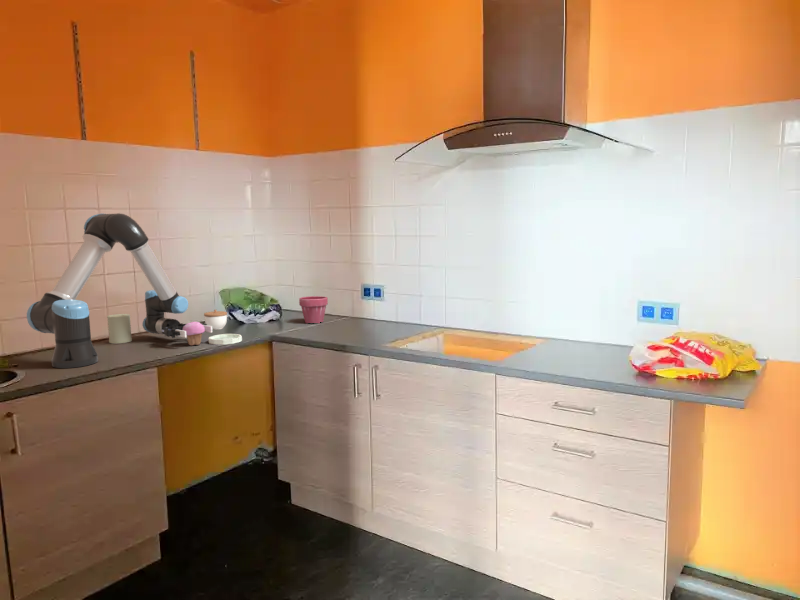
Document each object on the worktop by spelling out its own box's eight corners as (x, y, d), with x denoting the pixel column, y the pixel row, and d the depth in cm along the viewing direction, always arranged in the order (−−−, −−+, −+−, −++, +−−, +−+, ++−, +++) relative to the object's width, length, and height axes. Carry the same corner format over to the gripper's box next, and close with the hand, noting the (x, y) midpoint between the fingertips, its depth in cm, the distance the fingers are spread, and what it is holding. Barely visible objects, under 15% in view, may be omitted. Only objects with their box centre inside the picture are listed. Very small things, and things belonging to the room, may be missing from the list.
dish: (222, 345, 251) (222, 341, 251) (202, 342, 259) (202, 337, 259) (248, 340, 262) (247, 335, 262) (228, 337, 270) (227, 332, 270)
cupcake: (204, 342, 260) (202, 319, 258) (206, 345, 252) (205, 322, 250) (182, 344, 256) (180, 321, 254) (184, 347, 248) (182, 324, 247)
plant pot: (318, 319, 316) (318, 295, 314) (333, 322, 305) (332, 297, 303) (295, 322, 307) (294, 297, 305) (309, 325, 296) (308, 300, 294)
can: (123, 343, 258) (121, 316, 257) (104, 343, 260) (102, 316, 259) (136, 339, 267) (134, 313, 266) (118, 339, 269) (116, 312, 268)
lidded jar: (217, 331, 285) (216, 311, 284) (200, 329, 290) (198, 310, 289) (232, 327, 295) (231, 308, 294) (215, 326, 299) (214, 307, 298)
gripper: (193, 331, 274) (223, 335, 261) (143, 340, 254) (173, 345, 242) (192, 314, 273) (222, 318, 260) (142, 322, 253) (172, 327, 241)
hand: (198, 331), depth 251 cm, fingers open, 12 cm apart
